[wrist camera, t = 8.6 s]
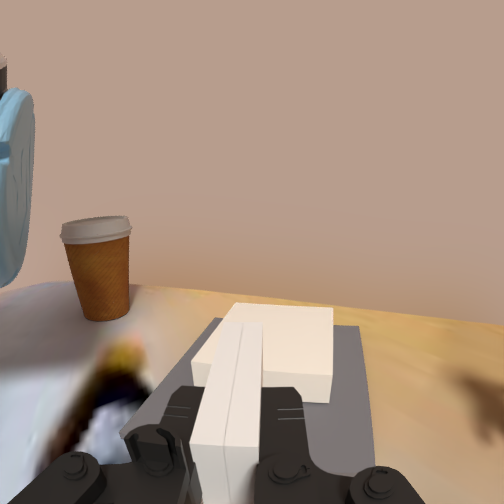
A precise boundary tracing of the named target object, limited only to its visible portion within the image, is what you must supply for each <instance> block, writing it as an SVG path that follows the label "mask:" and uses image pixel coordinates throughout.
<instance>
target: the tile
mask: <svg viewBox="0 0 504 504" xmlns="http://www.w3.org/2000/svg"><path fill="white" fill-rule="evenodd" d="M224 322H263V387H294V388H295V389H296V390H297V391H298V393H299V394H300V395H301V396H302V402H315V403H329V400H330V392H331V385H332V376H333V308H327V307H303V306H283V305H266V304H250V303H235V304H234V305H233V307H232V308H231V309H230V311H229V312H228V313H227V315H226V316H225V317H224V319H223V320H222V321H221V323H220V324H219V325H218V326H217V328H216V329H215V330H214V332H213V333H212V334H211V336H210V337H209V338H208V340H207V341H206V342H205V343H204V345H203V346H202V347H201V349H200V350H199V351H198V353H197V354H196V355H195V356H194V358H193V359H192V360H191V366H192V374H193V381H194V386H199V387H205V386H206V383H207V379H208V376H209V372H210V369H211V366H212V362H213V359H214V355H215V352H216V348H217V345H218V341H219V338H220V334H221V331H222V327H223V324H224Z"/></svg>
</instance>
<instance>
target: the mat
mask: <svg viewBox="0 0 504 504" xmlns="http://www.w3.org/2000/svg"><path fill="white" fill-rule="evenodd" d="M223 319H224V318H214V319H213V321H212V322H211V323H210V324H209V326H208V327H207V328H206V329H205V330H204V332H203V333H202V334H201V335H200V336H199V338H198V339H197V340H196V341H195V342H194V344H193V345H192V346H191V347H190V348H189V350H188V351H187V352H186V353H185V354H184V356H183V357H182V358H181V359H180V360H179V362H178V363H177V364H176V365H175V366H174V368H173V369H172V370H171V371H170V372H169V374H168V375H167V376H166V377H165V378H164V380H163V381H162V382H161V383H160V384H159V386H158V387H157V388H156V389H155V390H154V392H153V393H152V394H151V395H150V396H149V397H148V399H147V400H146V401H145V402H144V403H143V405H142V406H141V407H140V408H139V409H138V410H137V412H136V413H135V414H134V415H133V416H132V418H131V419H130V420H129V421H128V422H127V423H126V425H125V426H124V427H123V428H122V429H121V431H120V432H119V434H120V437H121V439H124V437H125V436H126V435H127V434H128V432H129V431H131V430H133V429H135V428H136V427H139V426H143V425H147V424H159V423H160V421H161V418H162V416H163V415H164V414H163V413H164V411H165V409H166V407H167V404H168V402H169V399H170V397H171V394H172V393H174V392H175V391H176V390H177V389H178V388H179V387H180V386H182V385H184V386H194V381H193V374H192V366H191V360H192V359H193V358H194V356H195V355H196V354H197V353H198V351H199V350H200V349H201V347H202V346H203V345H204V343H205V342H206V341H207V340H208V338H209V337H210V336H211V334H212V333H213V332H214V330H215V329H216V328H217V326H218V325H219V324H220V323H221V321H222V320H223ZM302 403H303V410H304V419H305V424H306V432H307V439H308V447H309V454H310V457H311V460H312V461H313V462H314V464H315V465H316V466H317V467H319V468H320V469H321V470H324V471H326V472H328V473H331V474H336V475H342V476H350V477H354V476H355V475H356V474H357V473H358V472H360V471H362V470H364V469H366V468H369V467H374V466H375V454H374V441H373V430H372V420H371V410H370V401H369V393H368V385H367V377H366V370H365V363H364V356H363V349H362V343H361V337H360V331H359V326H340V325H333V376H332V385H331V392H330V400H329V403H315V402H302Z"/></svg>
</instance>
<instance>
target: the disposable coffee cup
mask: <svg viewBox="0 0 504 504" xmlns="http://www.w3.org/2000/svg"><path fill="white" fill-rule="evenodd" d="M131 229H132V226H130V223H129V220H128V217H127V216H106V217H95V218H88V219H81V220H75V221H71V222H67V223H64V224H62V232H61V234H60V238H62V242H63V243H64V246H65V250H66V254H67V258H68V261H69V266H70V269H71V273H72V276H73V280H74V284H75V287H76V290H77V294H78V297H79V300H80V303H81V306H82V310H83V313H84V316H85V317H86V318H87V319H89V320H93V321H107V320H112V319H117V318H119V317H121V316H123V315H125V314H126V313H127V312H128V311H129V235H130V233H131Z"/></svg>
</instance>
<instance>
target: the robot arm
mask: <svg viewBox="0 0 504 504" xmlns="http://www.w3.org/2000/svg"><path fill="white" fill-rule="evenodd" d="M33 107H34V104H33V99H32V96H31V95H30V93H28V92H27V91H24V90H19V89H18V88H11V89H9V90H8V89H7V59H6V58H5V57H4V56H3V55H2V54H1V53H0V288H2V287H4V286H6V285H8V284H10V283H11V282H12V281H13V280H14V279H15V277H16V276H17V275H18V273H19V271H20V269H21V267H22V264H23V261H24V257H25V252H26V247H27V240H28V232H29V221H30V209H31V196H32V180H33V179H32V178H33V164H34V141H35V140H34V139H35V118H34V113H33ZM163 414H164V415H163V416H162V418H161V421H160V423H159V424H147V425H143V426H139V427H136V428H135V429H133V430H131V431H129V432H128V434H127V435H126V436H125V437H124V441H125V444H126V446H127V449H128V452H129V454H130V457H131V459H132V462H130V463H125V464H109V465H99V463H98V461H97V459H96V458H94V457H93V456H92V455H90V454H88V453H84V452H69V453H66V454H63V455H62V456H60V457H58V458H57V459H56V460H55V461H54V462H52V463H51V464H50V465H49V466H48V467H47V468H46V469H45V470H44V471H43V472H42V473H41V474H39V475H38V476H37V477H36V478H35V479H34V480H33V481H32V482H31V483H30V484H28V485H27V486H26V487H25V488H24V489H23V490H22V491H21V492H20V493H19V494H17V495H16V496H15V497H14V498H13V499H12V500H11V501H10V502H9V503H7V504H200V503H201V498H202V499H203V503H204V504H425V502H424V501H423V500H422V499H421V497H420V496H419V495H418V493H417V492H416V491H415V490H414V488H413V487H412V486H411V484H410V483H409V482H408V480H407V479H406V478H405V477H404V476H403V475H402V474H401V473H400V472H399V471H397V470H395V469H392V468H390V467H384V466H374V467H369V468H366V469H364V470H362V471H360V472H358V473H357V474H356V475H355V476H354V477H350V476H342V475H336V474H331V473H328V472H326V471H324V470H321V469H320V468H319V467H317V466H316V465H315V464H314V462H313V461H312V460H311V457H310V454H309V447H308V439H307V432H306V424H305V419H304V410H303V403H302V396H301V395H300V394H299V393H298V391H297V390H296V389H295V388H294V387H263V322H224V324H223V327H222V331H221V334H220V338H219V341H218V345H217V348H216V352H215V355H214V359H213V362H212V366H211V369H210V372H209V376H208V379H207V383H206V386H205V387H199V386H184V385H182V386H180V387H179V388H178V389H177V390H176V391H175V392H174V393H172V394H171V397H170V399H169V402H168V404H167V407H166V409H165V411H164V413H163Z"/></svg>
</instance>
